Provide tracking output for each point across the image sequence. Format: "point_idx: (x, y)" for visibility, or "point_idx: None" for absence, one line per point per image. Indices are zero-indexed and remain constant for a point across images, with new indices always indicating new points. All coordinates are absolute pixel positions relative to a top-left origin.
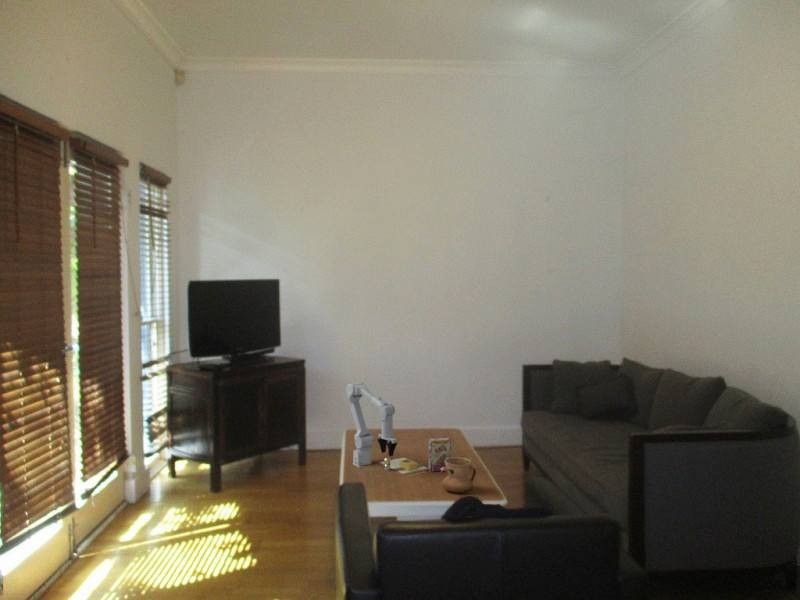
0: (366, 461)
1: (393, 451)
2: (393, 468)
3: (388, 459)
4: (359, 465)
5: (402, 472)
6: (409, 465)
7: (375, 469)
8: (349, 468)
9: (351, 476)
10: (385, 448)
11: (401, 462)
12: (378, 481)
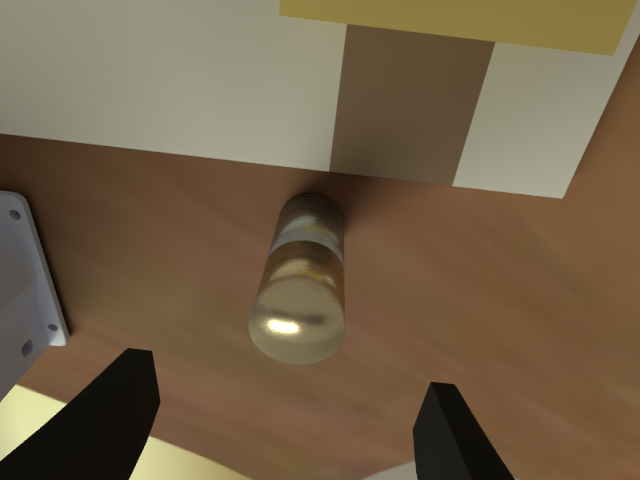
0: (6, 311)
1: (498, 474)
2: (318, 154)
3: (344, 335)
4: (41, 344)
5: (531, 170)
6: (614, 40)
7: (174, 265)
8: (49, 385)
9: (245, 454)
10: (110, 421)
11: (345, 22)
12: (475, 409)
